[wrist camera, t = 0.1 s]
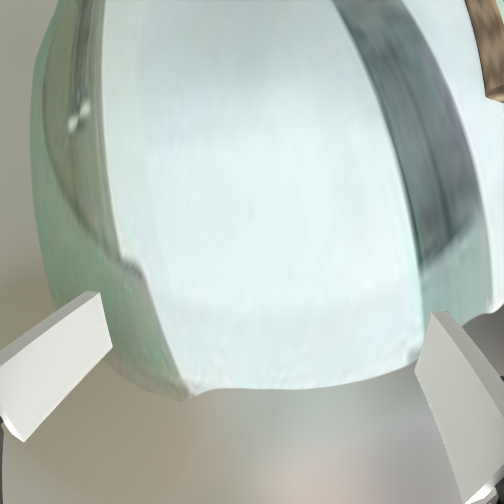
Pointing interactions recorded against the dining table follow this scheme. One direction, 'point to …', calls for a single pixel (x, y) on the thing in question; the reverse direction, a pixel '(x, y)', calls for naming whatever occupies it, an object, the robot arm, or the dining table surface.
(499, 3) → the mint green panel
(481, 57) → the box
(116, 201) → the dining table surface
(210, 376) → the dining table surface
